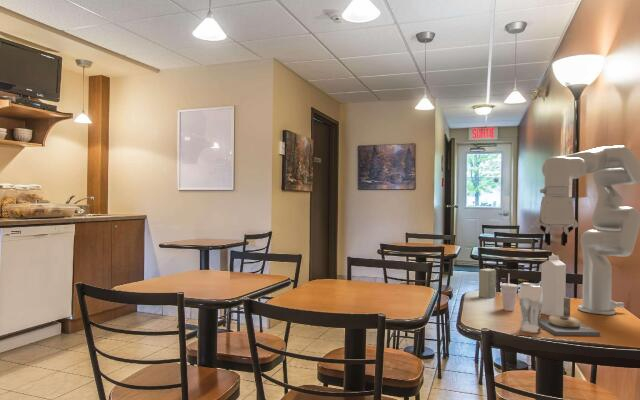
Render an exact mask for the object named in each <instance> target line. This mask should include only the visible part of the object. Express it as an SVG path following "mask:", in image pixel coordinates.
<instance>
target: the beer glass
mask: <svg viewBox="0 0 640 400" xmlns="http://www.w3.org/2000/svg"><path fill="white" fill-rule="evenodd" d="M519 285H520V286H519V295H518V296H519V297H518V299H519V300H518V301H519V306H520V308H519V309H520V313H521V324H520V330H521V331H522V332H523V333H529V334H540V333H541V332H542V329H541V328H542V327H540V318H541V314H542V313H541V310H542V304H543V290H542V285H541V283H533V282H521V283H520V284H519Z"/></svg>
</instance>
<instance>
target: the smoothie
mask: <svg viewBox="0 0 640 400" xmlns="http://www.w3.org/2000/svg"><path fill="white" fill-rule="evenodd" d="M510 274H511V272H510V273H508V274H507V276H508V277H507V283H500V288H501V295H502V305H503V310H504V311H507V312H513V311H515V307H516V299H517V292H518V289H519V285H518V284H516V283H515V284H514V283H511V282H510V280H511V277H510Z"/></svg>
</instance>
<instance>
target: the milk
mask: <svg viewBox="0 0 640 400" xmlns="http://www.w3.org/2000/svg"><path fill="white" fill-rule="evenodd" d="M559 257H560V256H559V255H558V254H557V255H549V256H548V260H546V261H544V262H541V271H540V272H541V275H540V278H541V280H540V281H541V282H540V285H542V290H543V304H542V310H541V314H543V315H545V316H546V315H547V316H553V315H560V316H564V315H563V313H564V298H565V297H566V290H567V289H566V285H567V284H566V279H567V277H566V275H567V265H566V263H564V262H563V261H562V260H560V258H559Z"/></svg>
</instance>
